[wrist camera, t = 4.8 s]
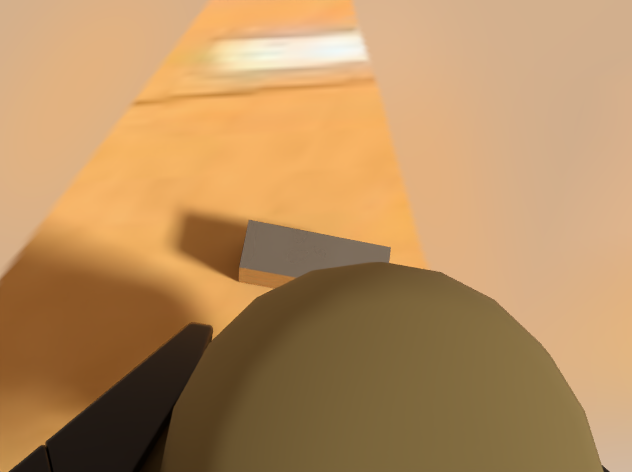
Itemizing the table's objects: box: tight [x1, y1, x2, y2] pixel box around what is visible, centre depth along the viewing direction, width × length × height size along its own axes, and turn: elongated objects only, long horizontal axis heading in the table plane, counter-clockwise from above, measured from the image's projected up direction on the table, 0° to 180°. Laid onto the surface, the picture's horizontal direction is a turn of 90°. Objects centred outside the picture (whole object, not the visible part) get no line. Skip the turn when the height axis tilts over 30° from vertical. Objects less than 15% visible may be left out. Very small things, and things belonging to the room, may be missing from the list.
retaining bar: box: [239, 220, 391, 288], centre depth 21 cm, size 2×6×3 cm, turn 81°
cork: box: [160, 262, 604, 472], centre depth 10 cm, size 6×6×11 cm
